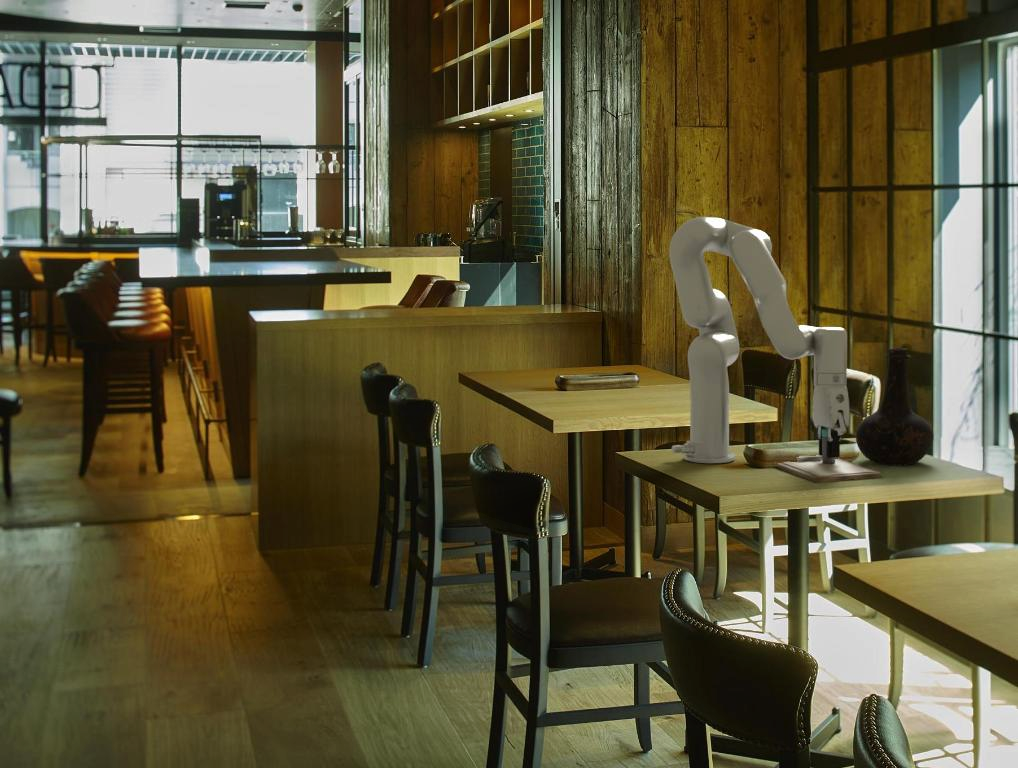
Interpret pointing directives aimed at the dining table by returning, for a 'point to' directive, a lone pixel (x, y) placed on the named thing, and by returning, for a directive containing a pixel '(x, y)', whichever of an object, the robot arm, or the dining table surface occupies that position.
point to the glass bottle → (895, 421)
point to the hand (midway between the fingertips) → (829, 455)
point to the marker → (824, 448)
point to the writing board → (826, 469)
